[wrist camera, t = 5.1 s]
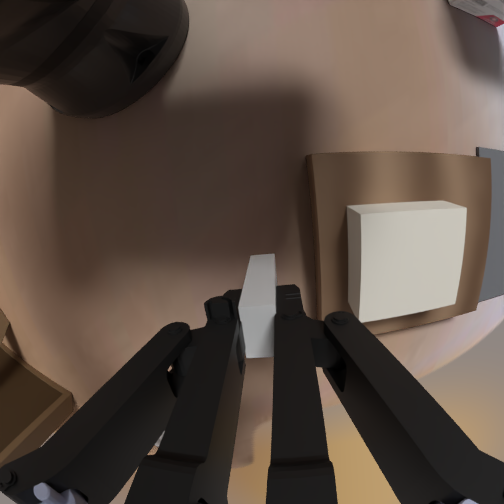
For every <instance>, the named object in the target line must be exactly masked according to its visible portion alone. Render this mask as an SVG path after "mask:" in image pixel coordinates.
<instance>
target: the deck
mask: <svg viewBox="0 0 504 504" xmlns="http://www.w3.org/2000/svg"><path fill="white" fill-rule="evenodd" d="M306 161H307V170H308V179H309V189H310V200H311V211H312V224H313V238H314V255H315V275H316V305H317V320H321V321H324V318H325V316H327V315H328V314H329V313H332V312H336V311H345V312H349V313H351V314H353V315H354V313H353V311H352V309H351V307H350V305H349V303H348V223H347V206H351V205H365V204H381V203H398V202H418V201H447V202H450V203H453V204H456V205H459V206H463V207H466V208H467V215H466V232H465V244H464V253H463V261H462V268H461V275H460V281H459V286H458V292H457V297H456V302H455V304H453V305H449V306H445V307H440V308H436V309H432V310H427V311H423V312H418V313H413V314H408V315H403V316H398V317H392V318H387V319H381V320H375V321H369V322H363V323H362V324H363V325H364V326H365V327H366V328H367V329H368V330H369V331H370V332H371V333H372V334H373V335H374V334H380V333H385V332H390V331H395V330H400V329H405V328H410V327H414V326H419V325H423V324H427V323H432V322H436V321H440V320H443V319H447V318H451V317H455V316H458V315H462V314H465V313H469V312H472V311H475V310H476V308H477V304H478V300H479V296H480V292H481V287H482V282H483V277H484V271H485V265H486V259H487V252H488V244H489V234H490V223H491V203H492V175H491V158H485V157H476V156H467V155H456V154H443V153H426V152H339V153H320V154H310V155H307V156H306ZM354 316H355V315H354Z"/></svg>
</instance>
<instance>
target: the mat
mask: <svg viewBox="0 0 504 504" xmlns="http://www.w3.org/2000/svg"><path fill="white" fill-rule="evenodd" d="M476 150H477V157H485V158H491V175H492V203H491V223H490V234H489V244H488V252H487V259H486V265H485V271H484V277H483V282H482V287H481V292H480V296H479V300H478V302H480V301H483V300H487V299H490V298H493V297H496V296H499V295H502V294H504V151H500V150H494V149H488V148H482V147H476Z"/></svg>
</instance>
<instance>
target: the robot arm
mask: <svg viewBox="0 0 504 504" xmlns="http://www.w3.org/2000/svg"><path fill="white" fill-rule="evenodd" d="M188 26H189V14H188V9H187V6H186V3H185V1H184V0H0V84H3V85H13V86H20V87H24V88H26V89H27V90H29V91H30V92H32V93H33V94H35V95H36V96H37V97H39V98H40V99H42V100H44V101H45V102H47V104H49V105H50V106H51V107H52V108H53V109H54V110H56V111H57V112H59V113H61V114H64V115H67V116H73V117H80V118H99V117H104V116H108V115H110V114H113V113H116V112H118V111H120V110H122V109H124V108H126V107H127V106H129V105H131V104H132V103H134V102H135V101H137V100H138V99H139V98H141V97H142V96H143V95H144V94H146V93H147V92H148V91H149V90H150V89H151V88H152V87H153V86H154V85H155V84H156V83H157V82H158V81H159V80H160V79H161V78H162V77H163V76H164V75H165V73H166V72H167V71H168V69H169V68H170V67H171V65H172V64H173V62H174V61H175V59H176V58H177V56H178V54H179V52H180V50H181V48H182V46H183V44H184V41H185V38H186V35H187V31H188ZM204 306H205V311H206V316H207V320H208V321H207V323H206V326H205V327H202V328H198V329H193V330H190V327H189V325H188V324H187V323H183V322H175V323H174V322H173V323H171V324H168V325H166V326H165V327H163V328H162V329H161V330H160V331H159V332H158V333H157V334H156V335H155V336H154V337H153V338H152V339H151V340H150V341H149V342H148V343H147V344H146V345H144V346H143V347H142V348H141V349H140V350H139V351H138V352H137V353H136V354H135V355H134V356H133V357H132V358H131V359H130V360H129V361H128V362H127V363H126V364H125V365H124V366H123V367H122V368H121V369H120V370H119V371H118V372H117V373H116V374H115V375H114V376H113V377H112V378H111V379H110V380H109V381H108V382H106V383H105V384H104V385H103V386H102V387H101V388H100V389H99V390H98V391H97V392H96V393H95V394H94V395H93V396H92V397H91V398H90V399H89V400H88V401H87V402H86V403H85V404H84V405H83V406H82V407H81V408H80V409H79V410H78V411H77V412H76V413H75V414H74V415H73V416H72V417H71V418H70V419H69V420H68V421H67V422H66V423H65V424H64V425H63V426H62V427H61V428H60V429H59V430H58V431H57V432H56V433H55V434H54V435H53V436H52V437H51V438H50V439H49V440H48V441H47V442H46V443H45V444H44V445H43V446H42V447H40V448H38V449H36V450H34V451H32V452H30V453H28V454H26V455H24V456H22V457H20V458H18V459H16V460H13V461H11V462H9V463H7V464H5V465H4V466H2V467H1V468H0V491H2V493H4V494H5V495H6V496H7V497H9V498H10V499H12V500H13V501H14V502H16V503H17V504H109V503H110V502H111V501H112V500H113V499H114V498H115V496H116V495H117V494H118V493H119V492H120V490H121V489H122V488H123V486H124V485H125V484H126V482H127V481H128V480H129V479H130V477H131V476H132V475H133V473H134V472H135V471H136V469H137V468H138V470H137V472H136V475H135V477H134V480H133V482H132V485H131V487H130V490H129V493H128V495H127V498H126V500H125V503H124V504H228V501H227V490H228V483H229V477H230V471H231V464H232V457H233V451H234V444H235V437H236V430H237V423H238V416H239V409H240V402H241V395H242V388H243V381H244V374H245V367H246V364H245V359H244V355H245V352H246V358H262V357H274V374H273V412H272V441H271V462H270V466H269V469H268V479H267V495H266V504H338V502H337V492H336V483H335V475H334V468H333V464H332V462H331V461H330V460H329V455H328V448H327V441H326V433H325V426H324V418H323V411H322V404H321V398H320V391H319V385H318V379H317V373H316V367H322V369H323V372H324V374H325V376H326V377H327V379H328V381H329V382H330V384H331V386H332V388H333V389H334V391H335V393H336V394H337V396H338V398H339V399H340V401H341V403H342V405H343V406H344V408H345V410H346V411H347V413H348V415H349V416H350V418H351V420H352V422H353V423H354V425H355V427H356V428H357V430H358V432H359V434H360V435H361V437H362V438H363V440H364V442H365V444H366V445H367V447H368V449H369V451H370V452H371V454H372V456H373V457H374V459H375V461H376V462H377V464H378V466H379V468H380V469H381V471H382V473H383V474H384V476H385V478H386V479H387V481H388V483H389V485H390V486H391V488H392V490H393V491H394V493H395V495H396V497H397V498H398V500H399V501H400V503H401V504H504V462H502V461H500V460H498V459H496V458H494V457H492V456H489V455H488V454H486V453H484V452H482V451H480V450H479V449H478V448H477V447H476V446H475V445H474V444H473V442H472V441H471V440H470V439H469V438H468V437H467V435H466V434H465V433H464V432H463V431H462V430H461V428H460V427H459V426H458V425H457V424H456V423H455V422H454V420H453V419H452V418H451V417H450V416H449V415H448V414H447V413H446V412H445V411H444V409H443V408H442V407H441V406H440V405H439V404H438V403H437V402H436V401H435V399H434V398H433V397H432V396H431V395H430V394H429V393H428V392H427V391H426V390H425V389H424V387H423V386H422V385H421V384H420V383H419V382H418V381H417V380H416V379H415V378H414V377H413V376H412V375H411V373H410V372H409V371H408V370H407V369H406V368H405V367H404V366H403V365H402V364H401V363H400V362H399V361H398V360H397V359H396V358H395V357H394V356H393V355H392V353H391V352H390V351H389V350H388V349H387V348H386V347H385V346H384V345H383V344H382V343H381V342H380V341H379V340H378V339H377V338H376V337H375V336H374V335H373V334H372V333H371V332H370V331H369V330H368V329H367V328H366V327H365V326H364V325H363V324H362V323H361V322H360V321H359V320H358V319H357V318H356V317H355V316H354V315H353V314H351V313H349V312H345V311H336V312H332V313H329V314H328V315H327V316H325V318H324V321H321V320H314V319H311V318H309V317H307V316H306V313H305V312H304V310H303V305H302V299H301V294H300V289H299V288H298V287H297V286H296V285H295V284H292V285H281V286H277V275H276V264H275V253H274V254H262V255H251V256H250V260H249V265H248V269H247V273H246V277H245V281H244V285H243V289H237V290H228V291H227V292H226V293H225V294H224V295H223V296H218V297H214V298H211V299H209V300H207V301H206V302H205V303H204ZM170 365H171V367H172V369H171V370H170V371H169V372H168V368H169V367H170ZM164 431H165V432H164ZM163 432H164V434H163ZM162 434H163V437H162V440H161V442H160V445H159V448H158V450H157V452H156V453H155V454H154V455H147V454H148V453H149V452H150V450H151V449H152V447H153V446H154V445H155V443H156V442H157V440H158V439H159V438H160V436H161V435H162ZM138 466H139V467H138Z"/></svg>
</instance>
